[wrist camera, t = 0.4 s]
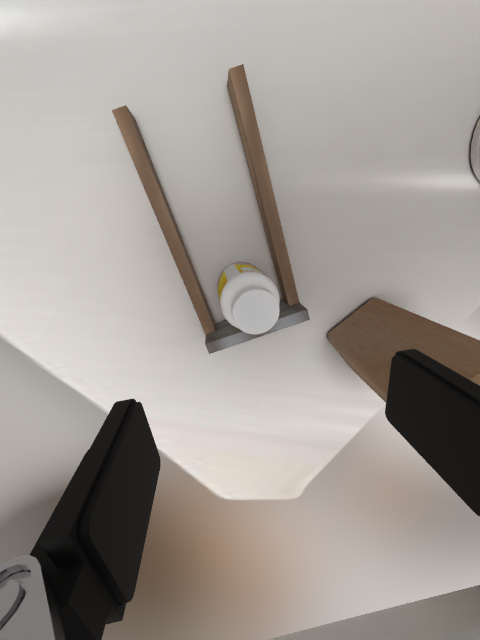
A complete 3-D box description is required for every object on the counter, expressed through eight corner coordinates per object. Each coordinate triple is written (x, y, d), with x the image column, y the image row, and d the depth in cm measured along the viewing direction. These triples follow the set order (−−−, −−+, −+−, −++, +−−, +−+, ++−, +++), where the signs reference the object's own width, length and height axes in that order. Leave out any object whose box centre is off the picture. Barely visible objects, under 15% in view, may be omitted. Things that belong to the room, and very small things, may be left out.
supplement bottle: (231, 314, 36) (241, 355, 25) (208, 275, 34) (207, 300, 22) (270, 292, 36) (299, 324, 24) (250, 252, 34) (272, 265, 22)
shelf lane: (239, 81, 27) (247, 42, 21) (294, 305, 37) (309, 319, 32) (122, 122, 27) (99, 94, 21) (209, 335, 37) (209, 353, 32)
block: (322, 333, 40) (422, 426, 21) (373, 293, 38) (528, 355, 19) (352, 370, 43) (461, 478, 24) (400, 335, 41) (554, 421, 23)
